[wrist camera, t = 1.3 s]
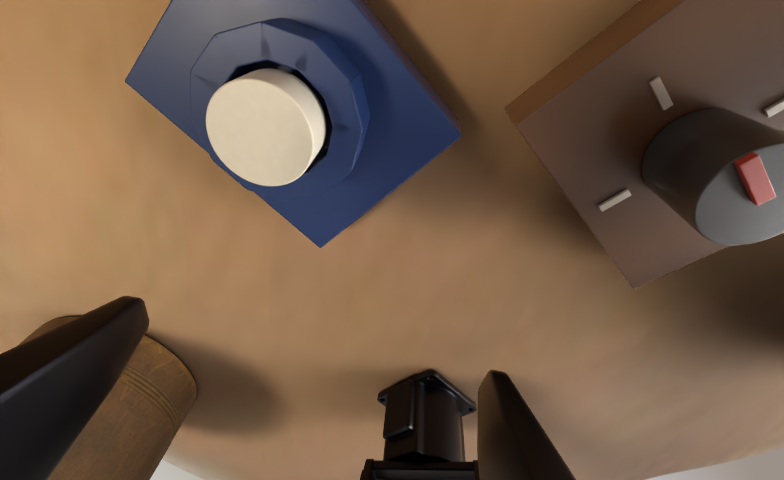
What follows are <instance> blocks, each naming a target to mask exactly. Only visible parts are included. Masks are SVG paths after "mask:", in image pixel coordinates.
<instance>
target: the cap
mask: <svg viewBox="0 0 784 480" xmlns="http://www.w3.org/2000/svg"><path fill="white" fill-rule="evenodd" d="M206 129H207V134H208V137H209V140H210V143H211V145H212V147H213V149H214V151H215V152H216V154H217V155H218V157H219V158H220V160H221V161H222V162H223V163H224V164H225V165H226V166H227V167H228V168H229V169H230V170H231V171H233V172H234V173H235V174H237V175H238V176H240V177H241V178H243V179H245V180H247V181H249V182H252V183H255V184H258V185H263V186H281V185H285V184H288V183H291V182H293V181H295V180H296V179H298V178H299V177H300V176H301V175H302V174H303V173H304V172H305V171H306V170H307V168H308V167H309V165H310V164H311V163H312V161H313V160H314V158H315V157H316V156H317V154H318V153H319V151H320V150H321V148H322V146H323V144H324V140H325V136H326V119H325V115H324V111H323V108H322V106H321V104H320V102H319V100H318V98H317V97H316V95H315V94H314V92H313V91H312V90H311V89H310V88H309V87H308V86H307V85H306V84H305V83H304V82H303V81H301V80H300V79H299V78H297V77H296V76H294V75H292V74H290V73H288V72H285V71H282V70H278V69H271V68H266V69H258V70H255V71H252V72H250V73H248V74H245V75H243V76H241V77H239V78H236V79H234V80H232V81H230V82H228V83H226V84H224V85H223V86H221V87H220V88H219V89H218V90H217V91H216V92H215V93H214V94H213V96H212V98H211V99H210V102H209V104H208V107H207V112H206Z"/></svg>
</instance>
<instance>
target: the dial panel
mask: <svg viewBox="0 0 784 480" xmlns="http://www.w3.org/2000/svg"><path fill="white" fill-rule="evenodd" d="M711 108H719V109H726V110H729V111H732V112H735V113H737V114H740V115H742V116H745V117H747V118H750V119H752V120H755V121H758V122H760V123H763V124H765V125H768V126H770V127H773V128H775V129H778V130H780V131H783V132H784V0H642V1H640V2H639V3H638V4H636V5H635V6H634V7H633V8H631V9H630V10H629V11H628V12H626V13H625V14H624V15H622V16H621V17H620V18H619V19H617V20H616V21H615V22H613V23H612V24H611V25H610V26H608V27H607V28H606V29H605V30H603V31H602V32H601V33H599V34H598V35H597V36H596V37H594V38H593V39H592V40H591V41H589V42H588V43H587V44H585V45H584V46H583V47H582V48H580V49H579V50H578V51H576V52H575V53H574V54H573V55H571V56H570V57H569V58H568V59H566V60H565V61H564V62H562V63H561V64H560V65H559V66H557V67H556V68H555V69H553V70H552V71H551V72H550V73H548V74H547V75H546V76H545V77H543V78H542V79H541V80H539V81H538V82H537V83H536V84H534V85H533V86H532V87H530V88H529V89H528V90H527V91H525V92H524V93H523V94H522V95H520V96H519V97H518V98H516V99H515V100H514V101H513V102H511V103H510V104H509V105H508V106H506V107H505V108H504V110H505V111H506V113H507V115H508V116H509V118H510V119H511V121H512V123H513V124H514V126H515V127H516V129H517V130H518V132H519V133H520V134H521V136H522V137H523V138H524V140H525V141H526V143H527V144H528V145H529V147H530V148H531V149H532V151H533V152H534V153H535V155H536V156H537V158H538V159H539V160H540V162H541V163H542V164H543V166H544V167H545V169H546V170H547V171H548V173H549V174H550V175H551V177H552V178H553V180H554V181H555V182H556V184H557V185H558V186H559V188H560V189H561V191H562V192H563V193H564V195H565V196H566V197H567V199H568V200H569V202H570V203H571V204H572V206H573V207H574V208H575V210H576V211H577V213H578V214H579V215H580V217H581V218H582V219H583V221H584V222H585V224H586V225H587V226H588V228H589V229H590V230H591V232H592V233H593V235H594V236H595V237H596V239H597V240H598V241H599V243H600V244H601V246H602V247H603V248H604V250H605V251H606V252H607V254H608V255H609V257H610V258H611V259H612V261H613V262H614V263H615V265H616V266H617V268H618V269H619V270H620V272H621V273H622V274H623V276H624V277H625V279H626V280H627V281H628V283H629V284H630V285H631V287H632V288H633V289H635V288H638V287H640V286H642V285H644V284H646V283H649V282H651V281H653V280H655V279H657V278H660V277H662V276H664V275H666V274H668V273H671V272H673V271H675V270H677V269H679V268H682V267H684V266H686V265H688V264H690V263H693V262H695V261H697V260H699V259H701V258H704V257H706V256H708V255H710V254H712V253H715V252H717V251H719V250H721V249H723V248H726V247H728V246H730V245H725V244H719V243H715V242H712V241H710V240H708V239H706V238H705V237H703V236H702V235H701V234H700V233H699V232H698V231H696V230H695V229H694V228H693V227H692V226H691V225H690V224H689V223H688V222H686V221H685V220H684V219H683V218H682V217H681V216H680V215H679V214H677V213H676V212H675V211H674V210H673V209H672V208H671V207H670V206H669V205H667V204H666V203H665V202H664V201H663V200H662V199H661V198H660V197H659V196H657V195H656V194H655V193H654V192H653V191H652V190H651V189H650V188H649V187H648V186H647V185H646V183H645V181H644V179H643V176H642V162H643V158H644V155H645V153H646V151H647V149H648V147H649V145H650V144H651V142H652V141H653V140H654V138H655V137H656V136H657V135H658V134H659V133H660V132H661V131H662V130H663V129H664V128H665V127H667V126H668V125H669V124H671V123H672V122H674V121H675V120H677V119H679V118H681V117H683V116H685V115H687V114H689V113H692V112H695V111H699V110H704V109H711Z"/></svg>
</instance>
